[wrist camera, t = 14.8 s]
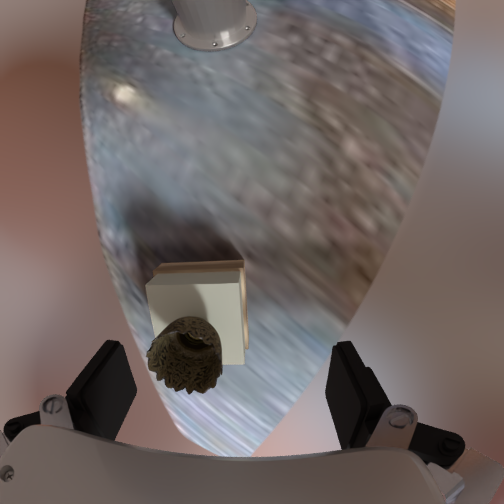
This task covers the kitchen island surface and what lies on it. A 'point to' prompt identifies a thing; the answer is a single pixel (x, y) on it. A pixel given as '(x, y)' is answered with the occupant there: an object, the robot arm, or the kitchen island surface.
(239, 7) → the robot arm
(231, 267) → the box
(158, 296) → the tower top
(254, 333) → the kitchen island surface
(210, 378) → the dark brown tapered piece
